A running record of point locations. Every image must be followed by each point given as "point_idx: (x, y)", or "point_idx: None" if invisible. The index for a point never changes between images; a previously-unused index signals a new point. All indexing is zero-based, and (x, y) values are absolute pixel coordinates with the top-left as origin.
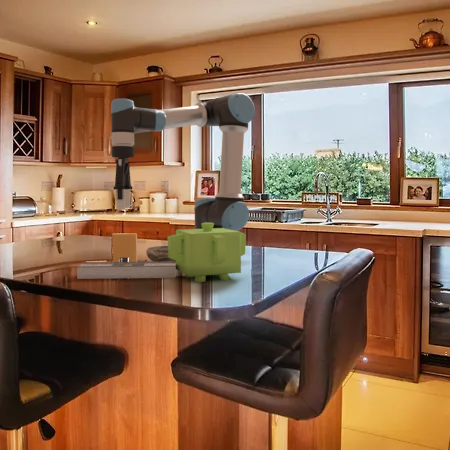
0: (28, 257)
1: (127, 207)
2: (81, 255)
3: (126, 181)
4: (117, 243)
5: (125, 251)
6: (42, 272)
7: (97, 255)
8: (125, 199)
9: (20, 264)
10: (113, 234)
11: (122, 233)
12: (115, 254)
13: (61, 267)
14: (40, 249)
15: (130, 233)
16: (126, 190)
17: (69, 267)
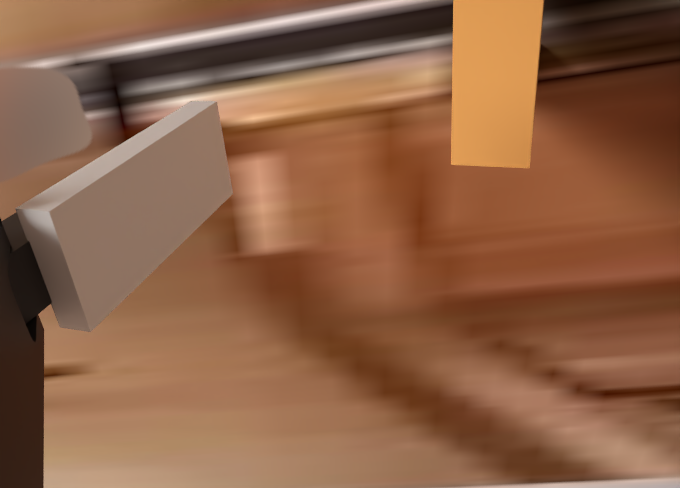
0: (196, 459)
1: (220, 137)
2: None
3: (7, 370)
4: (535, 98)
5: (542, 18)
6: (580, 394)
7: None
8: (172, 205)
9: (361, 473)
10: (529, 156)
11: (458, 87)
12: (536, 90)
13: (445, 336)
14: None
15: (462, 10)
16: (80, 260)
17: (448, 305)
